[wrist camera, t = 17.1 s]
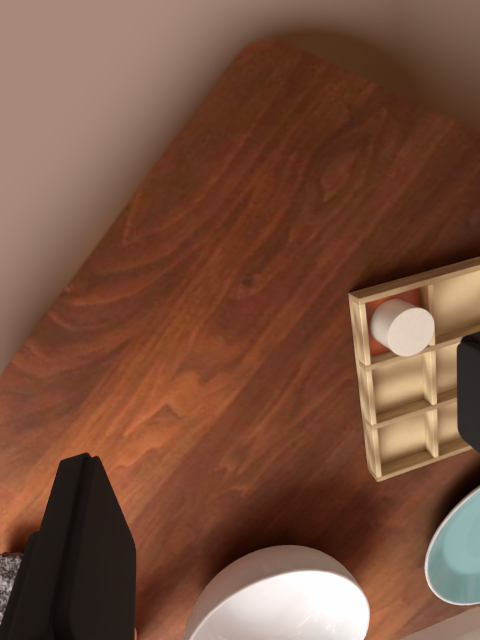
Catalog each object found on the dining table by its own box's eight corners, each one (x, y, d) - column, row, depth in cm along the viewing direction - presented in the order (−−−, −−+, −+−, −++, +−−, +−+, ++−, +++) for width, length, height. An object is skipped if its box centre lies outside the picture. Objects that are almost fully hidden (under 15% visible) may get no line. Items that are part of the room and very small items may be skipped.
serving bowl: (147, 638, 47) (147, 708, 41) (228, 498, 43) (243, 552, 37) (291, 656, 54) (311, 719, 48) (372, 537, 50) (405, 589, 44)
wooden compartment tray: (348, 292, 39) (358, 298, 37) (541, 238, 42) (560, 241, 40) (367, 469, 47) (377, 482, 45) (529, 413, 50) (545, 423, 48)
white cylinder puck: (367, 305, 39) (386, 315, 36) (412, 292, 39) (434, 301, 36) (371, 349, 40) (389, 362, 38) (414, 336, 41) (435, 348, 38)
